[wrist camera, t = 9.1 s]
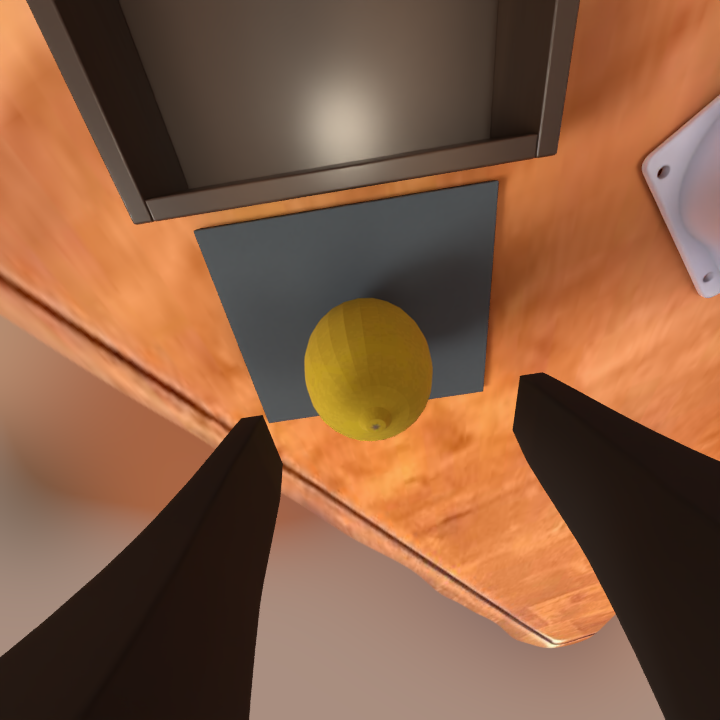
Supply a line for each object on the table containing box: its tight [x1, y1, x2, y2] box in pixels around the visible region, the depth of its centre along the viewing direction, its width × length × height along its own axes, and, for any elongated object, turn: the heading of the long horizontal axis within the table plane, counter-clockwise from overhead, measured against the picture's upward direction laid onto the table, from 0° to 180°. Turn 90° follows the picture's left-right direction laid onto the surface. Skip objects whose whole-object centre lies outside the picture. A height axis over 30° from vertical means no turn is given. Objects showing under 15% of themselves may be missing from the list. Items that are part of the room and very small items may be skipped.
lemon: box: [304, 298, 433, 441], centre depth 15 cm, size 6×6×8 cm
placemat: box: [194, 180, 499, 423], centre depth 18 cm, size 14×12×1 cm
